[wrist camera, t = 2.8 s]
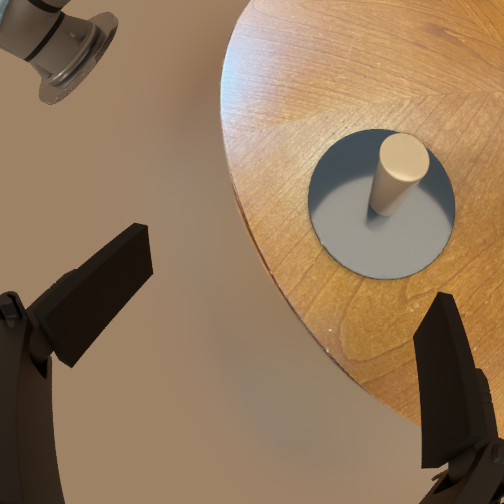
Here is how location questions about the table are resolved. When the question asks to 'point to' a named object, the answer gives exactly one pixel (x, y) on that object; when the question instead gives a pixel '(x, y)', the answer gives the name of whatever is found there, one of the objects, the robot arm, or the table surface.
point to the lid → (381, 204)
